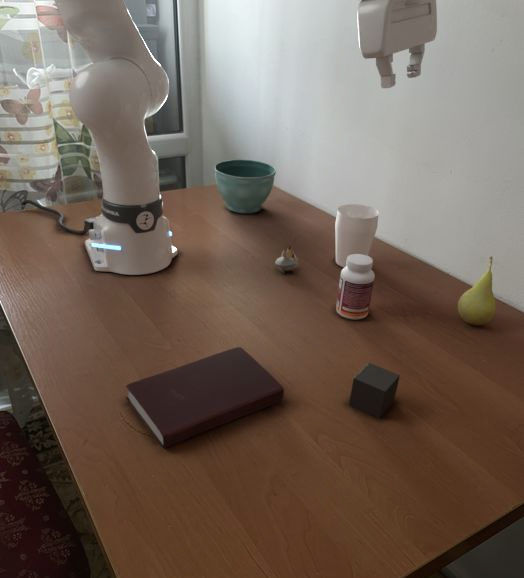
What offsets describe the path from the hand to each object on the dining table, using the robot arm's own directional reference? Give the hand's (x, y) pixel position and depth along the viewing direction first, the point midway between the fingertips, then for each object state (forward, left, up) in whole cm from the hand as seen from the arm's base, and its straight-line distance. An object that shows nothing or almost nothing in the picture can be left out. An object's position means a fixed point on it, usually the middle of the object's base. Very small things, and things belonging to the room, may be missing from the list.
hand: (401, 82), depth 87 cm
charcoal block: (+25, -22, -39) cm, 51 cm away
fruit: (+17, +12, -39) cm, 45 cm away
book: (+12, -43, -39) cm, 60 cm away
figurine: (-18, -6, -39) cm, 44 cm away
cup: (-14, +9, -39) cm, 43 cm away
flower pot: (-55, +7, -39) cm, 68 cm away
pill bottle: (+3, -6, -39) cm, 40 cm away
